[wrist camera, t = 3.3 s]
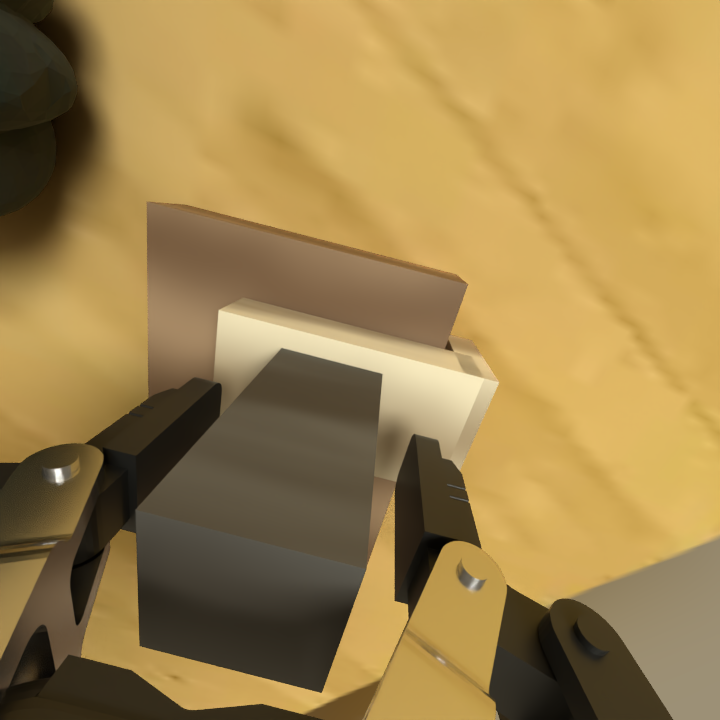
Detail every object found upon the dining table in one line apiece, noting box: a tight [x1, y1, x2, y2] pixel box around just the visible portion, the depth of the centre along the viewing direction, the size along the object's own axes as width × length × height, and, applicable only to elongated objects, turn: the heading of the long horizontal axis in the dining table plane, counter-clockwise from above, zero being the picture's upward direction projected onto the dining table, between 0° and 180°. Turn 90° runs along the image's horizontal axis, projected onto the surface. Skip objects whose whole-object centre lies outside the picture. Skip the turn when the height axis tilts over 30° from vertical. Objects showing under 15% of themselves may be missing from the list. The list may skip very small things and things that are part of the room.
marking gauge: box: [136, 298, 499, 693], centre depth 11 cm, size 5×10×11 cm, turn 76°
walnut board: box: [147, 202, 468, 564], centre depth 19 cm, size 28×12×3 cm, turn 167°
